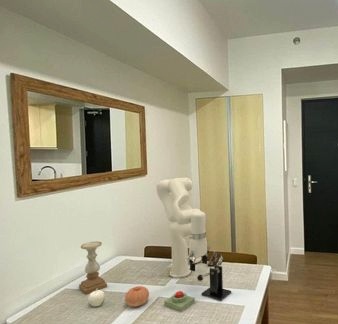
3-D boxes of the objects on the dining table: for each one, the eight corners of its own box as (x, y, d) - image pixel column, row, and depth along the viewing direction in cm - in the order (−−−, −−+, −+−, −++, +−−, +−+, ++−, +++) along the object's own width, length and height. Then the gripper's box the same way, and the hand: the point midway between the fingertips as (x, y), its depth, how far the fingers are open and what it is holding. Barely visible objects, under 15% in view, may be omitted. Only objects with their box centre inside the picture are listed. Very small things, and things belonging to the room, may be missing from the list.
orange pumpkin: (131, 298, 138) (130, 282, 138) (152, 298, 138) (152, 282, 137) (121, 310, 127) (120, 293, 127) (144, 310, 127) (143, 293, 127)
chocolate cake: (217, 268, 172) (224, 251, 179) (207, 265, 173) (214, 247, 180) (218, 273, 179) (225, 256, 186) (208, 270, 180) (215, 253, 188)
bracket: (201, 295, 139) (201, 268, 139) (212, 287, 147) (212, 262, 147) (220, 301, 133) (220, 273, 133) (231, 293, 141) (230, 266, 140)
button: (173, 297, 131) (173, 293, 131) (179, 293, 134) (179, 290, 134) (179, 299, 129) (179, 295, 129) (184, 295, 132) (184, 292, 132)
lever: (197, 282, 144) (195, 276, 145) (201, 280, 147) (199, 274, 148) (217, 274, 137) (214, 268, 138) (221, 272, 140) (218, 266, 141)
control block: (164, 305, 131) (164, 297, 131) (178, 296, 138) (177, 289, 138) (181, 311, 125) (181, 303, 125) (194, 302, 133) (194, 294, 132)
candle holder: (78, 287, 150) (76, 244, 149) (100, 280, 158) (98, 239, 157) (85, 294, 143) (83, 249, 142) (107, 286, 151) (105, 243, 150)
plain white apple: (93, 310, 128) (93, 293, 128) (85, 306, 132) (84, 289, 131) (108, 303, 134) (107, 287, 134) (99, 299, 138) (99, 283, 137)
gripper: (203, 230, 154) (203, 259, 155) (181, 238, 140) (182, 271, 141) (214, 232, 150) (214, 262, 151) (192, 241, 136) (193, 275, 137)
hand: (198, 266), depth 146 cm, fingers open, 9 cm apart
